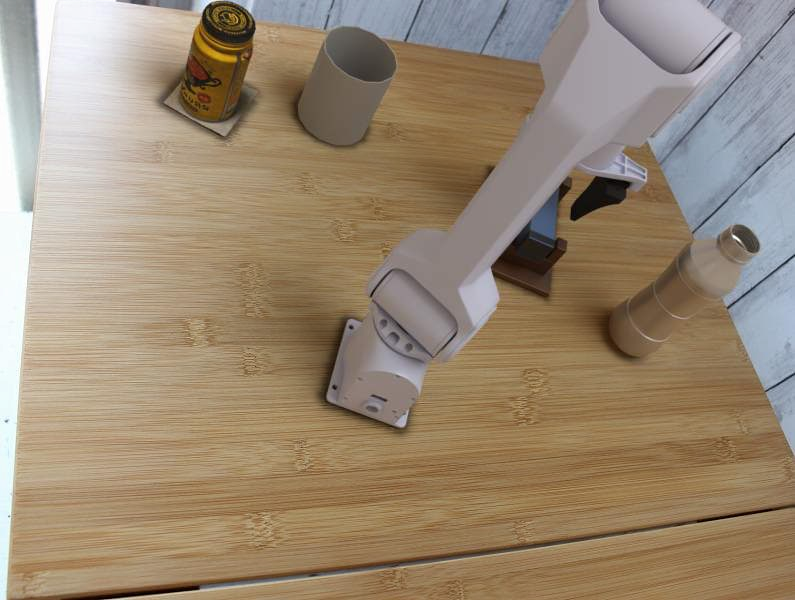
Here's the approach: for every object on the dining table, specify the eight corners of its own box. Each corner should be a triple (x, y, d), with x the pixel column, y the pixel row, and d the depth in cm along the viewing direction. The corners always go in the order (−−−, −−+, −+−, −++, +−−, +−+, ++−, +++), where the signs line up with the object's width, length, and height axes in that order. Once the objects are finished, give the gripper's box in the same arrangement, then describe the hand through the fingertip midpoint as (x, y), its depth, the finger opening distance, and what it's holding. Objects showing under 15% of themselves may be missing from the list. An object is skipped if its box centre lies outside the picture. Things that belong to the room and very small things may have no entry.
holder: (546, 297, 95) (573, 270, 90) (475, 268, 93) (500, 238, 88) (556, 198, 104) (581, 168, 100) (492, 169, 103) (514, 138, 98)
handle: (539, 264, 92) (554, 247, 90) (514, 253, 92) (528, 236, 89) (548, 176, 101) (562, 159, 98) (526, 166, 100) (539, 149, 98)
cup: (370, 106, 100) (401, 43, 92) (362, 154, 95) (394, 93, 88) (303, 81, 98) (329, 15, 90) (291, 129, 93) (318, 64, 86)
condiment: (162, 104, 88) (182, 16, 79) (199, 61, 93) (222, -26, 84) (224, 138, 89) (250, 55, 80) (257, 93, 94) (286, 11, 85)
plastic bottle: (614, 365, 93) (737, 268, 78) (592, 313, 96) (707, 209, 81) (657, 362, 96) (784, 268, 81) (635, 311, 99) (753, 211, 84)
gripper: (672, 122, 87) (600, 201, 98) (551, 64, 85) (490, 151, 95) (673, 168, 83) (597, 245, 94) (546, 109, 80) (482, 195, 91)
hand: (543, 201), depth 94 cm, fingers open, 7 cm apart
